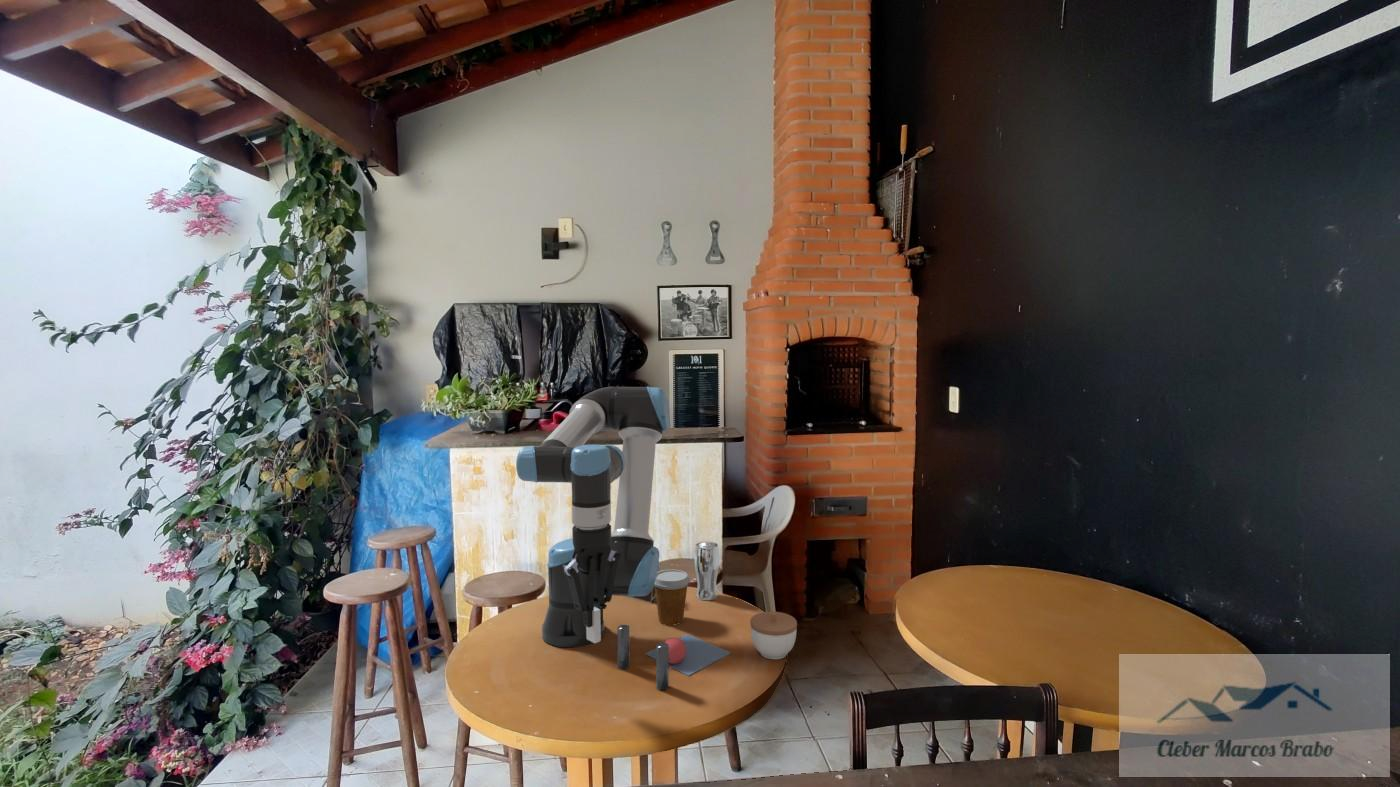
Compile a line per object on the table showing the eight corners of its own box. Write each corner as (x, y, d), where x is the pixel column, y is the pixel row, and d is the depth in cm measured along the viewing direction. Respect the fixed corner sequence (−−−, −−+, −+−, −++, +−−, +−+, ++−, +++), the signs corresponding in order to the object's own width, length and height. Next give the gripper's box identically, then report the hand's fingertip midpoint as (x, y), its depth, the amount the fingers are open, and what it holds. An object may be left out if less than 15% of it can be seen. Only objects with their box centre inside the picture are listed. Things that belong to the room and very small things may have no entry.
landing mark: (645, 654, 146) (645, 653, 146) (687, 634, 157) (687, 633, 157) (688, 676, 137) (688, 675, 137) (730, 653, 147) (730, 652, 147)
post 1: (615, 666, 141) (615, 627, 140) (624, 662, 143) (624, 623, 142) (622, 670, 139) (622, 630, 138) (632, 666, 141) (631, 627, 140)
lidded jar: (757, 639, 154) (757, 601, 153) (801, 646, 150) (801, 608, 150) (744, 659, 144) (744, 619, 143) (790, 668, 140) (791, 627, 140)
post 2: (653, 687, 132) (653, 645, 131) (662, 682, 134) (662, 641, 133) (662, 692, 130) (662, 649, 130) (671, 687, 132) (671, 645, 132)
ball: (667, 629, 144) (678, 642, 147) (652, 650, 142) (664, 663, 145) (683, 637, 141) (694, 650, 143) (669, 659, 138) (680, 672, 141)
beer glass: (716, 602, 177) (716, 549, 175) (692, 600, 178) (692, 547, 177) (720, 592, 183) (721, 542, 182) (697, 590, 185) (697, 540, 184)
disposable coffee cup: (652, 613, 169) (652, 569, 168) (688, 612, 170) (688, 568, 169) (652, 629, 160) (652, 582, 159) (690, 627, 161) (690, 581, 160)
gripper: (575, 536, 117) (577, 658, 119) (629, 521, 127) (630, 634, 129) (552, 527, 122) (555, 645, 124) (606, 514, 132) (607, 623, 134)
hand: (593, 639), depth 127 cm, fingers closed
